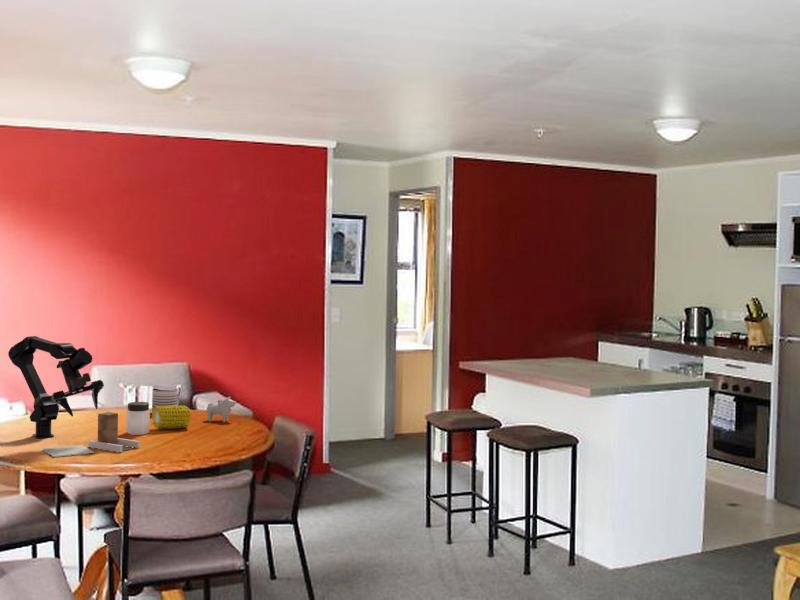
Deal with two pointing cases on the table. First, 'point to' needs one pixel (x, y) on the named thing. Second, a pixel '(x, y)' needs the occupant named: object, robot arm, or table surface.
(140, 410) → the jar
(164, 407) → the food
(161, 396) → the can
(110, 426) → the post
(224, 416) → the dog figurine
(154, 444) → the table surface
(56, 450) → the plate
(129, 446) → the channel
